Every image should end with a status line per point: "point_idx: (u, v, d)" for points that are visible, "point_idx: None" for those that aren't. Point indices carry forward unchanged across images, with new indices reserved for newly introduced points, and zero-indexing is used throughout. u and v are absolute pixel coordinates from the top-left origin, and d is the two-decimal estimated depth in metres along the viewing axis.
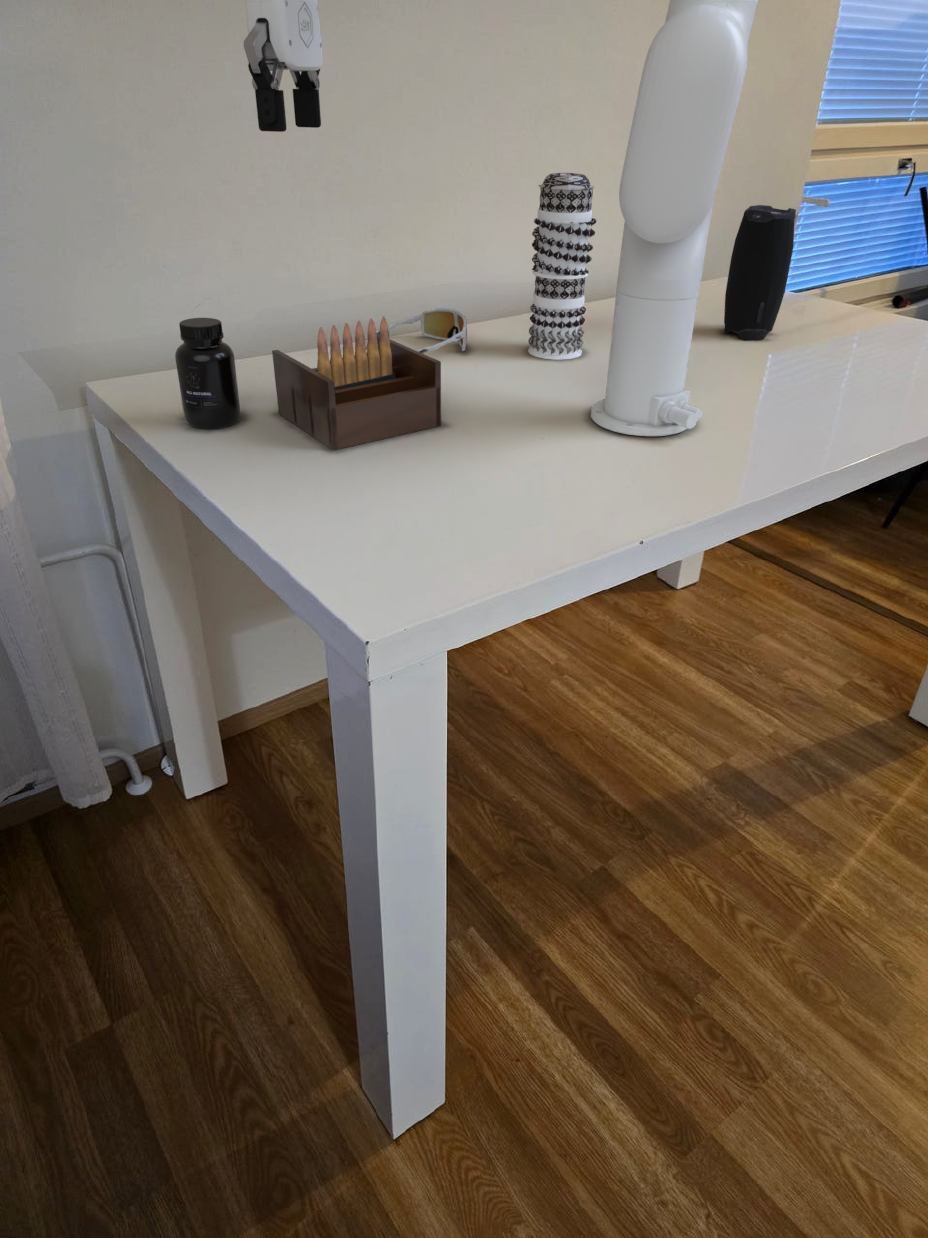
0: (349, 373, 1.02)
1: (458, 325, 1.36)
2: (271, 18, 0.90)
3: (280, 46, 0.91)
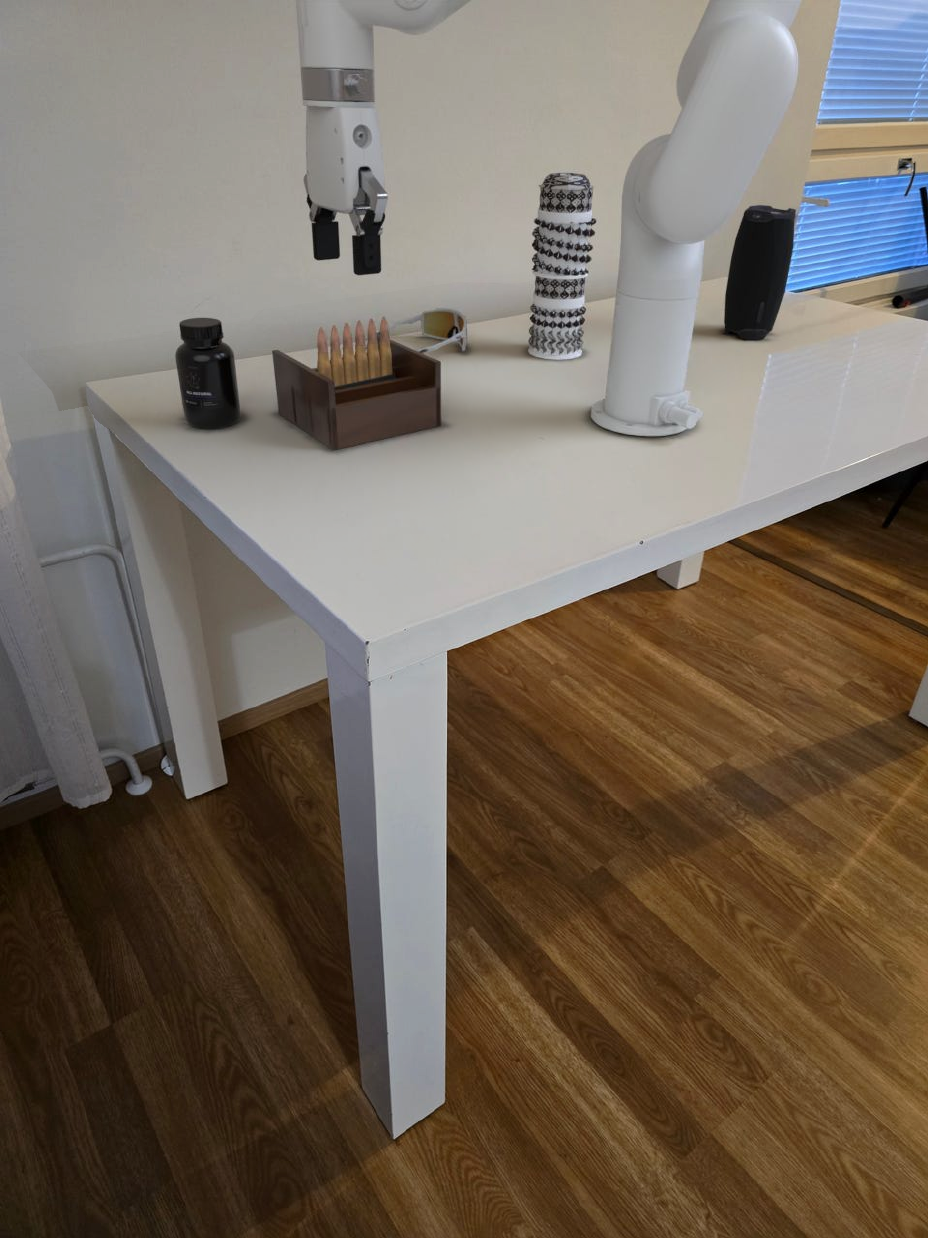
0: (349, 373, 1.02)
1: (458, 325, 1.36)
2: (374, 166, 0.88)
3: None
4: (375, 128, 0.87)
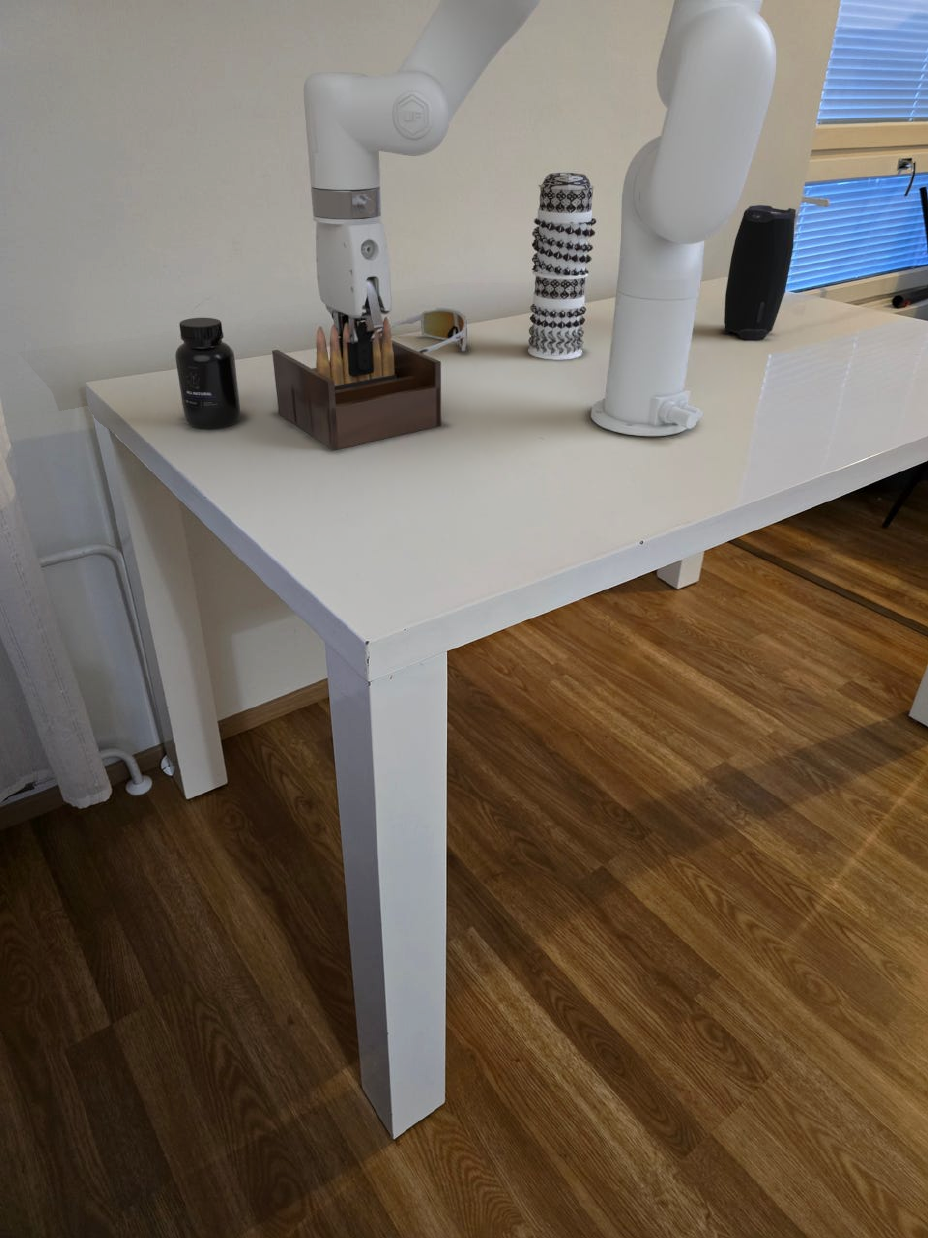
0: (348, 373, 1.02)
1: (458, 325, 1.36)
2: (381, 276, 0.94)
3: (388, 298, 0.96)
4: (382, 242, 0.93)
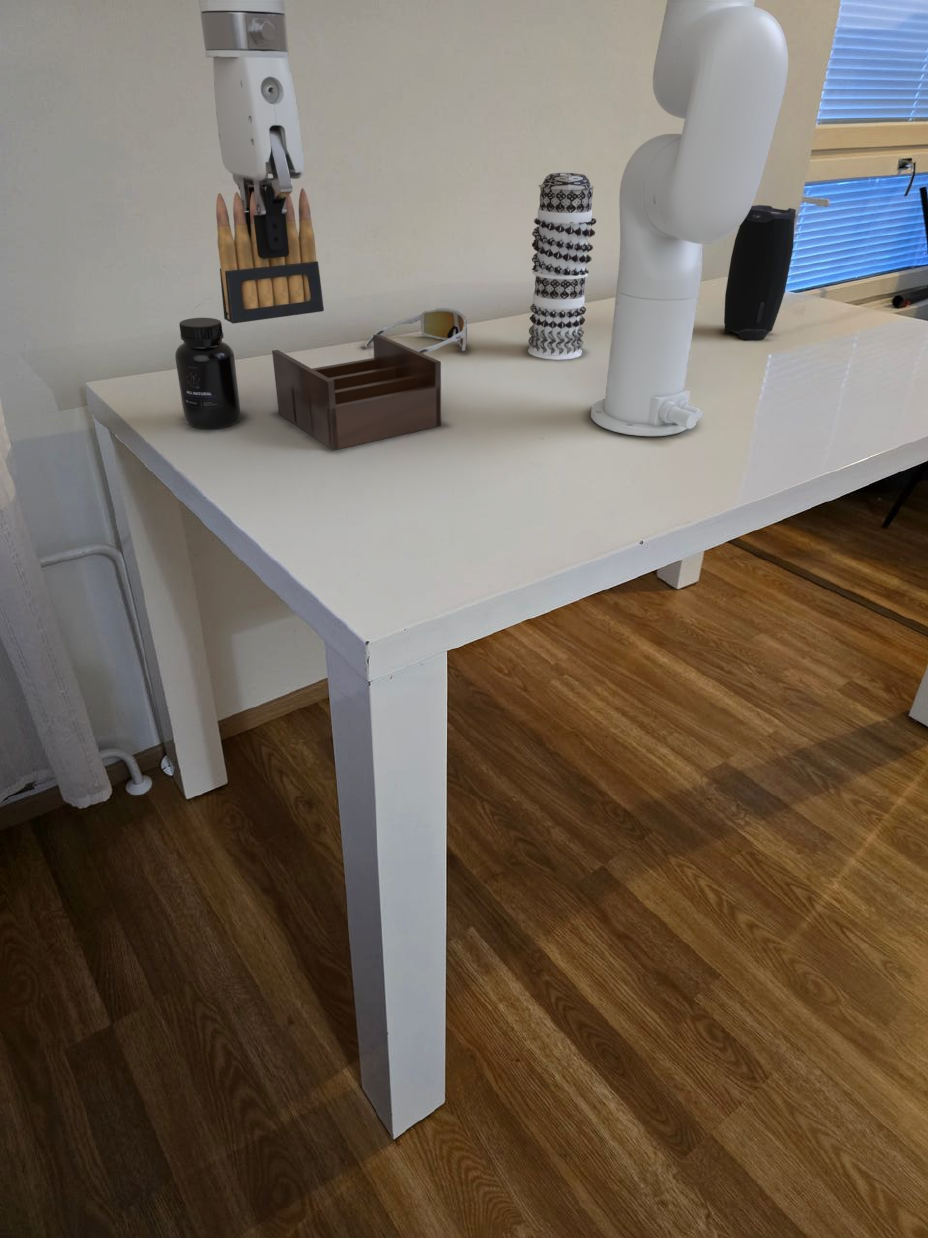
0: None
1: (458, 325, 1.36)
2: (288, 125, 0.78)
3: (298, 155, 0.80)
4: (287, 82, 0.77)
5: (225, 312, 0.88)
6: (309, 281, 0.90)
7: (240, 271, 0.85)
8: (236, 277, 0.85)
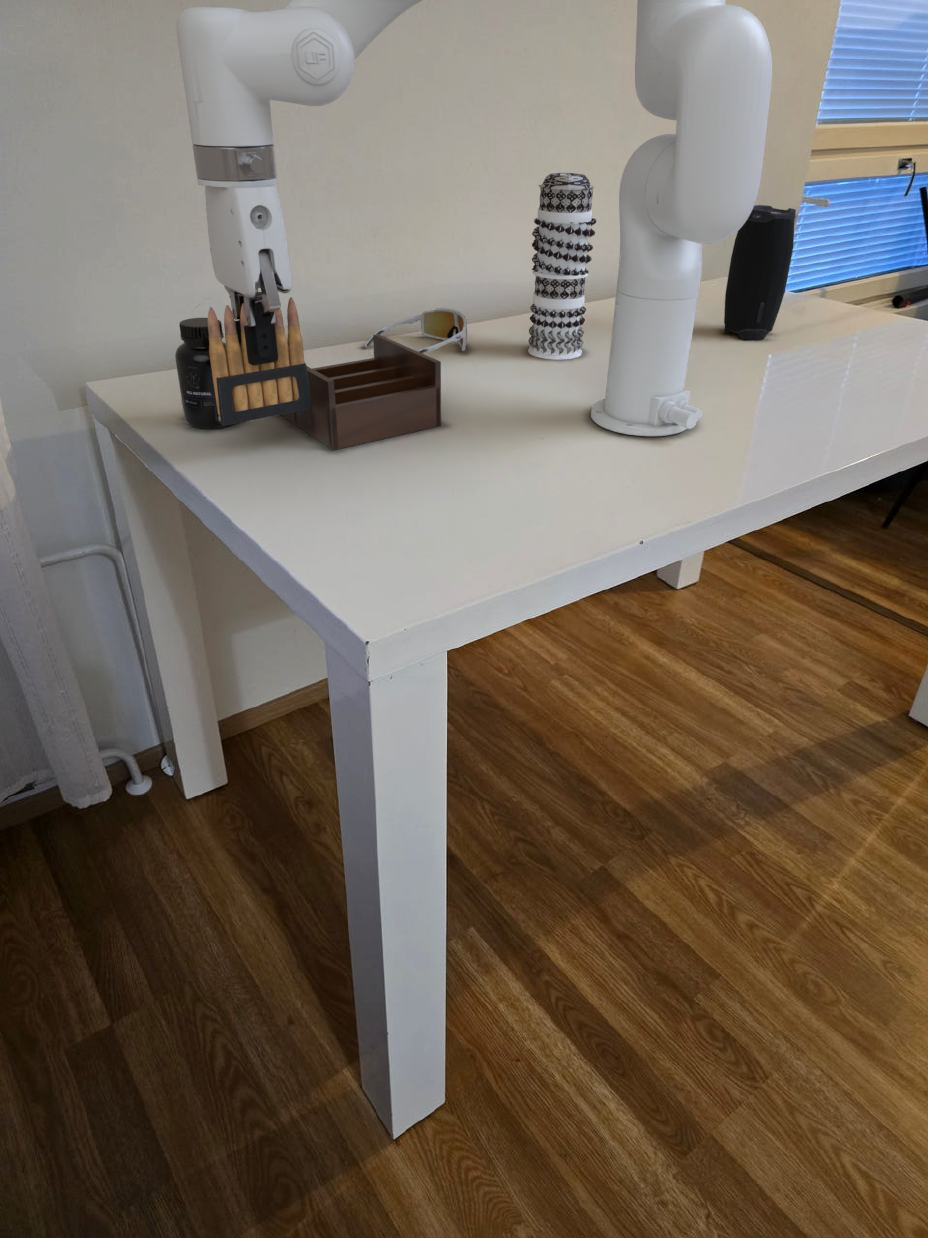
0: None
1: (458, 325, 1.36)
2: (276, 248, 0.82)
3: (286, 274, 0.83)
4: (275, 208, 0.80)
5: (216, 414, 0.92)
6: (297, 382, 0.94)
7: (231, 377, 0.89)
8: (227, 383, 0.89)
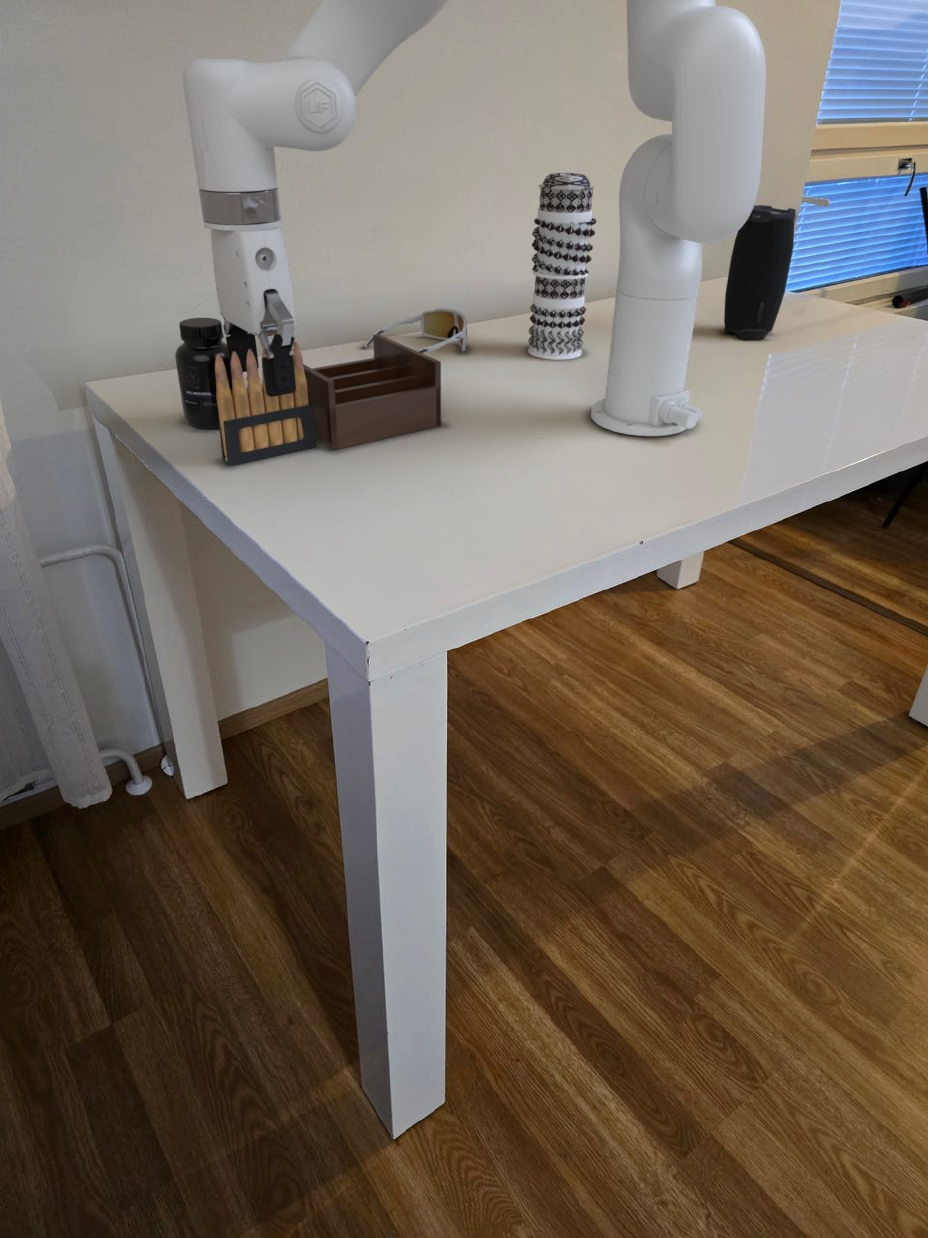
0: (254, 404, 0.92)
1: (458, 325, 1.36)
2: (281, 288, 0.84)
3: (290, 313, 0.85)
4: (280, 250, 0.82)
5: (223, 454, 0.94)
6: (302, 423, 0.96)
7: (237, 420, 0.92)
8: (234, 426, 0.92)
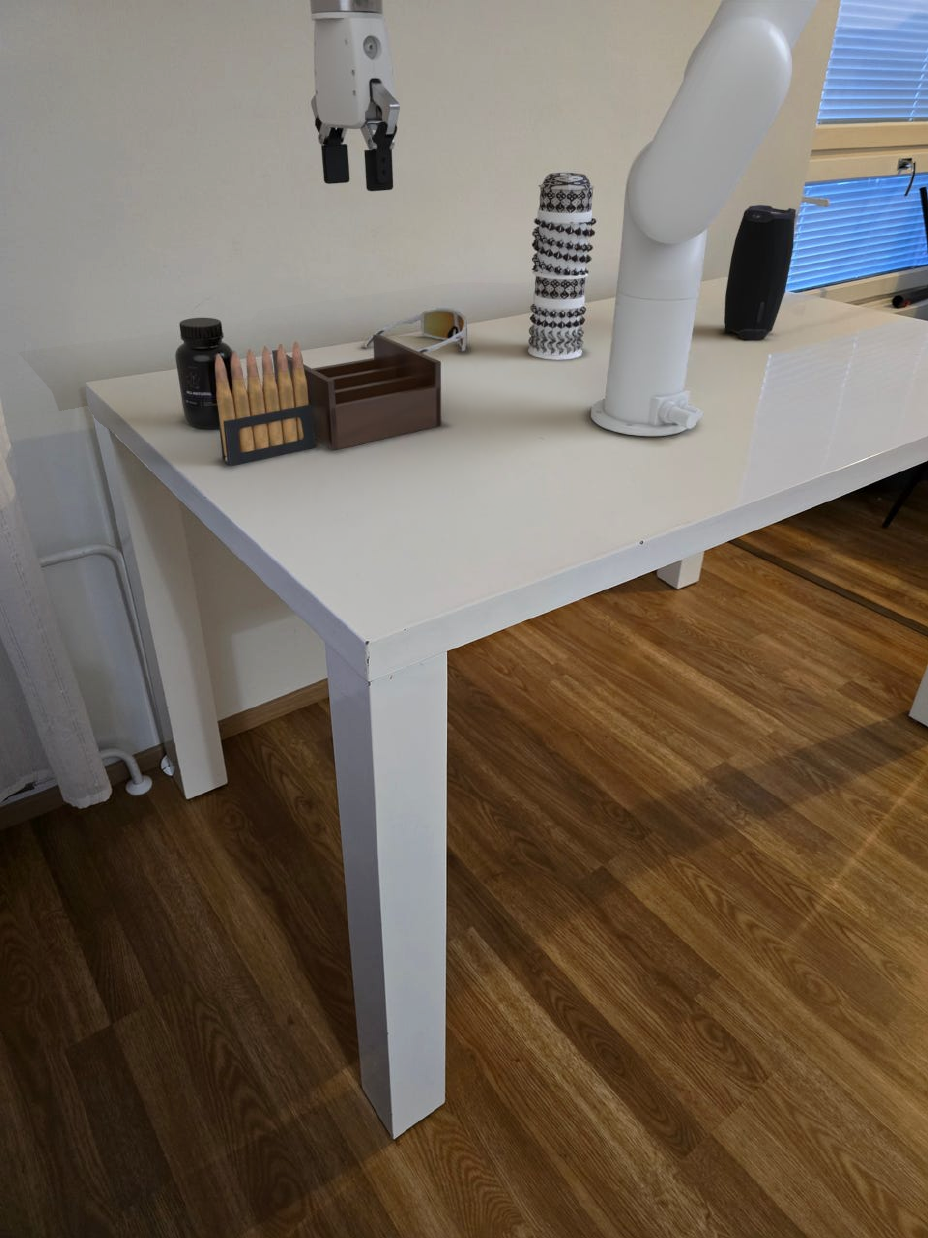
0: (254, 404, 0.92)
1: (458, 325, 1.36)
2: (384, 78, 0.89)
3: None
4: (384, 40, 0.88)
5: (223, 454, 0.94)
6: (302, 423, 0.96)
7: (237, 420, 0.92)
8: (234, 426, 0.92)
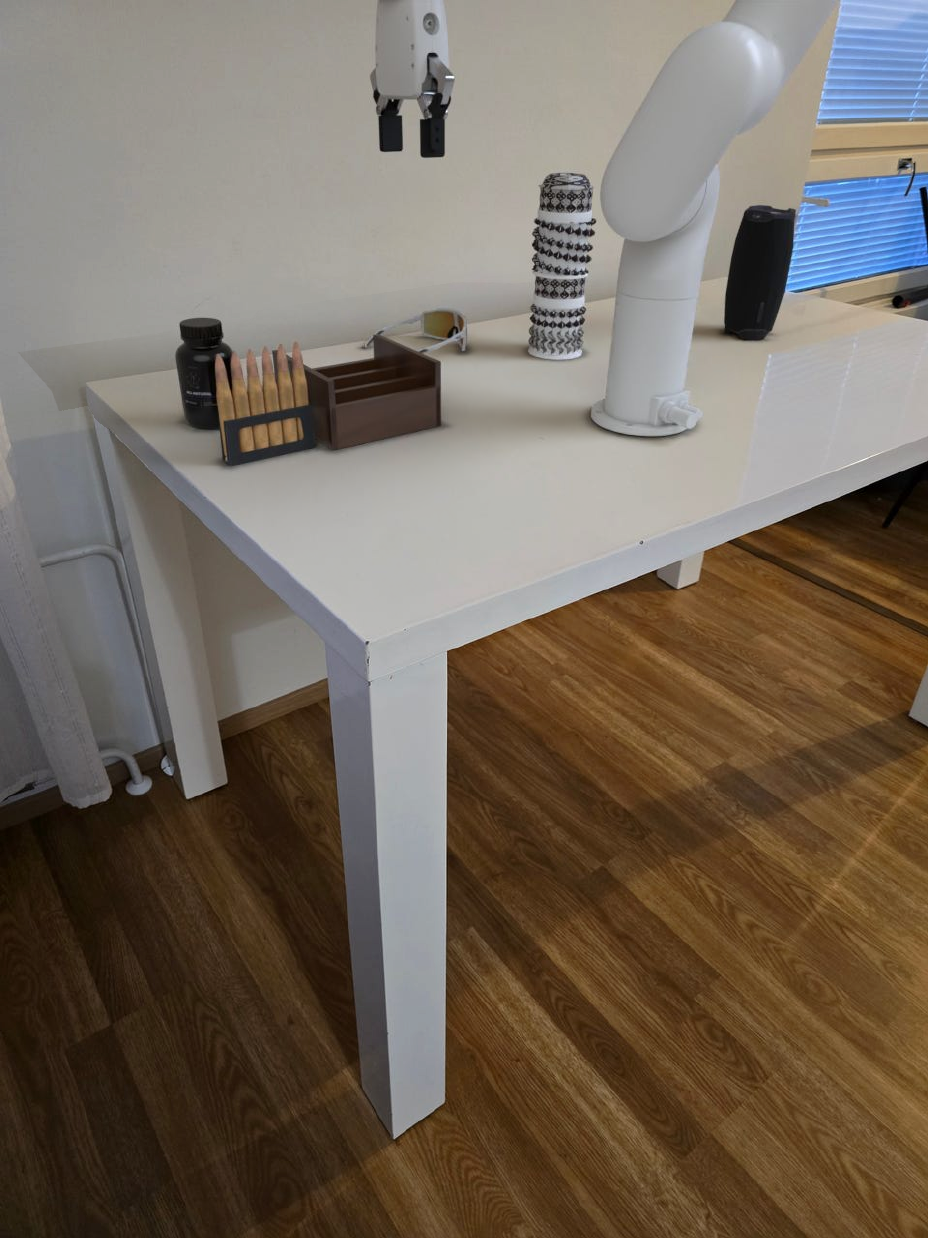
0: (254, 404, 0.92)
1: (458, 325, 1.36)
2: (441, 53, 0.97)
3: None
4: (442, 17, 0.96)
5: (223, 454, 0.94)
6: (302, 423, 0.96)
7: (237, 420, 0.92)
8: (234, 426, 0.92)
